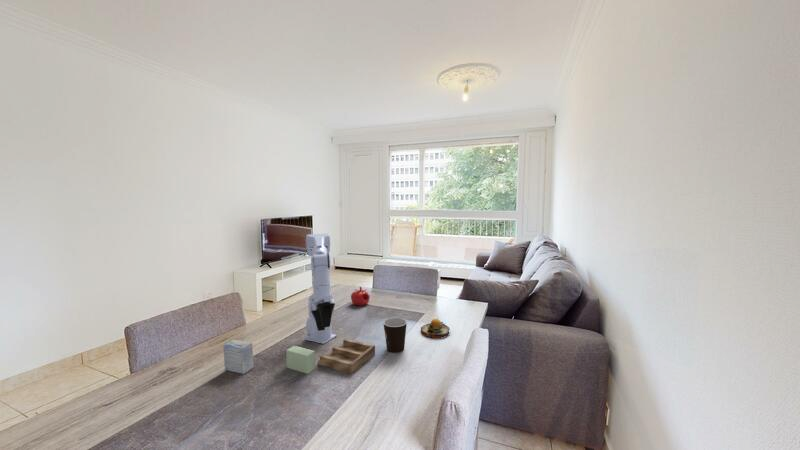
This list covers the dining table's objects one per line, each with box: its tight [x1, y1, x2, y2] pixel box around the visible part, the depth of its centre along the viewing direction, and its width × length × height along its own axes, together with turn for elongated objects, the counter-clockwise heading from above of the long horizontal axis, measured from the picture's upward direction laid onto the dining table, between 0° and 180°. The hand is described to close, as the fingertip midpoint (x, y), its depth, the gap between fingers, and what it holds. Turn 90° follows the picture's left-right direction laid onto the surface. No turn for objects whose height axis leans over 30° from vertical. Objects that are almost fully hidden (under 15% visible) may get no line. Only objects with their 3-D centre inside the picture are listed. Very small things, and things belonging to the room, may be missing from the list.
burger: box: [420, 317, 451, 339], centre depth 125 cm, size 12×12×8 cm
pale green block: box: [285, 345, 316, 374], centre depth 99 cm, size 9×4×6 cm, turn 64°
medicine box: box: [223, 339, 255, 375], centre depth 99 cm, size 8×4×9 cm, turn 71°
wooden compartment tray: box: [317, 338, 376, 375], centre depth 105 cm, size 14×14×3 cm
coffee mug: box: [383, 317, 408, 354], centre depth 113 cm, size 12×9×10 cm
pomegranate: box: [350, 286, 370, 307], centre depth 161 cm, size 10×10×9 cm
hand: (323, 328), depth 99 cm, fingers open, 7 cm apart
